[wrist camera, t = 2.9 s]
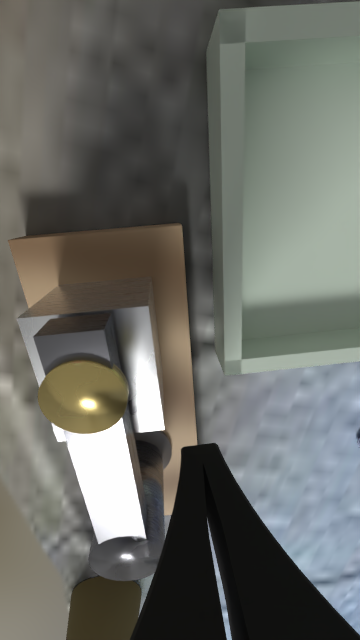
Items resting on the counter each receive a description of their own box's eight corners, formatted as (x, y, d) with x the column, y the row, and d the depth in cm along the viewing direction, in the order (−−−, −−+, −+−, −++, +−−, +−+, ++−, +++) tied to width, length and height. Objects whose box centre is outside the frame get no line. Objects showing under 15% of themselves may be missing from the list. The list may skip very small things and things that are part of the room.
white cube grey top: (162, 373, 14) (164, 429, 10) (83, 381, 14) (57, 441, 10) (151, 276, 12) (148, 306, 9) (58, 285, 12) (16, 318, 8)
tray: (403, 331, 16) (444, 352, 14) (215, 350, 16) (224, 375, 13) (482, 33, 11) (567, -11, 9) (206, 50, 10) (219, 9, 8)
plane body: (198, 487, 20) (202, 515, 18) (100, 499, 20) (94, 528, 18) (179, 222, 13) (182, 225, 11) (25, 235, 13) (4, 241, 11)
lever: (165, 476, 16) (168, 581, 11) (113, 482, 16) (95, 591, 11) (138, 281, 11) (126, 330, 7) (65, 288, 11) (5, 342, 7)
